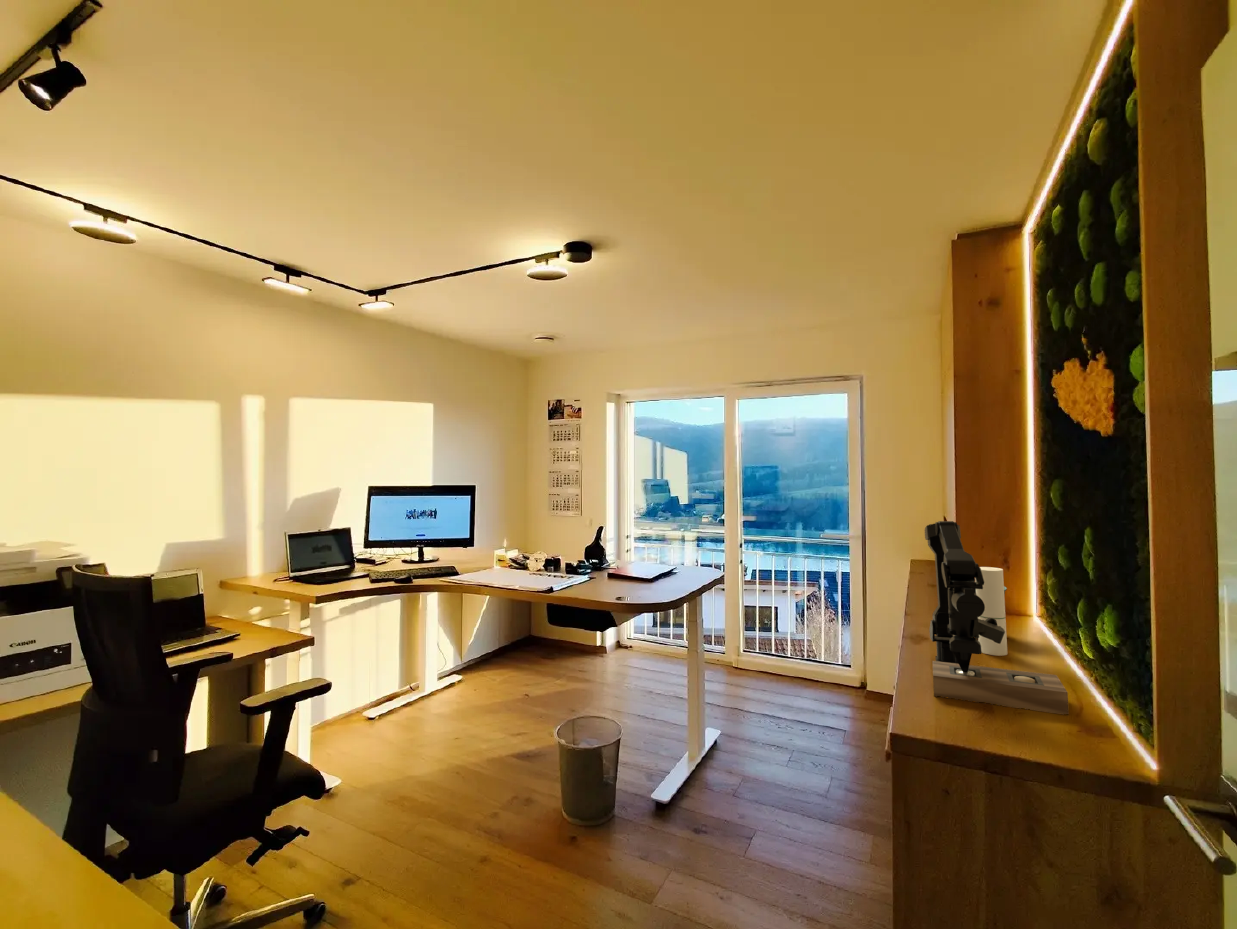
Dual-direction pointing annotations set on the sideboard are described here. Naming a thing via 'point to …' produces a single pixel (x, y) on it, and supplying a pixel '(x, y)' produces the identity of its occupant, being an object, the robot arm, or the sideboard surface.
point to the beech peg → (1024, 679)
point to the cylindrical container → (993, 608)
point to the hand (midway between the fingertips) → (965, 671)
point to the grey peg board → (1001, 687)
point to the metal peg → (965, 672)
